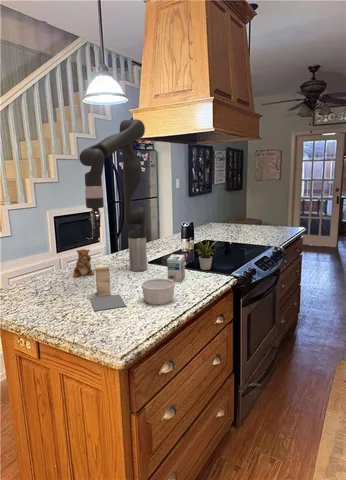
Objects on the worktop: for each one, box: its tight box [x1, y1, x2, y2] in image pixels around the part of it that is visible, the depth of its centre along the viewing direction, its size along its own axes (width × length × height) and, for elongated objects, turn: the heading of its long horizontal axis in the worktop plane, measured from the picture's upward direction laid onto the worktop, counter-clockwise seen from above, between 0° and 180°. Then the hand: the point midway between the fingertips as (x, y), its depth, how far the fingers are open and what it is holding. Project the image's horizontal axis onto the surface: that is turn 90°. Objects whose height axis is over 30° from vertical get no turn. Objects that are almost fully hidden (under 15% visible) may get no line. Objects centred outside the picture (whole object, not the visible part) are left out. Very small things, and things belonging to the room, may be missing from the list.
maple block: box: [95, 264, 112, 297], centre depth 142 cm, size 5×5×12 cm
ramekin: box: [141, 277, 176, 305], centre depth 136 cm, size 13×13×7 cm
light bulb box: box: [166, 254, 186, 283], centre depth 163 cm, size 11×7×11 cm, turn 168°
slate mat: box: [89, 293, 127, 312], centre depth 134 cm, size 14×12×1 cm
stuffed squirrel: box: [73, 248, 95, 279], centre depth 174 cm, size 10×14×13 cm
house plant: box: [192, 239, 218, 271], centre depth 179 cm, size 14×14×16 cm
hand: (96, 235), depth 150 cm, fingers open, 3 cm apart
